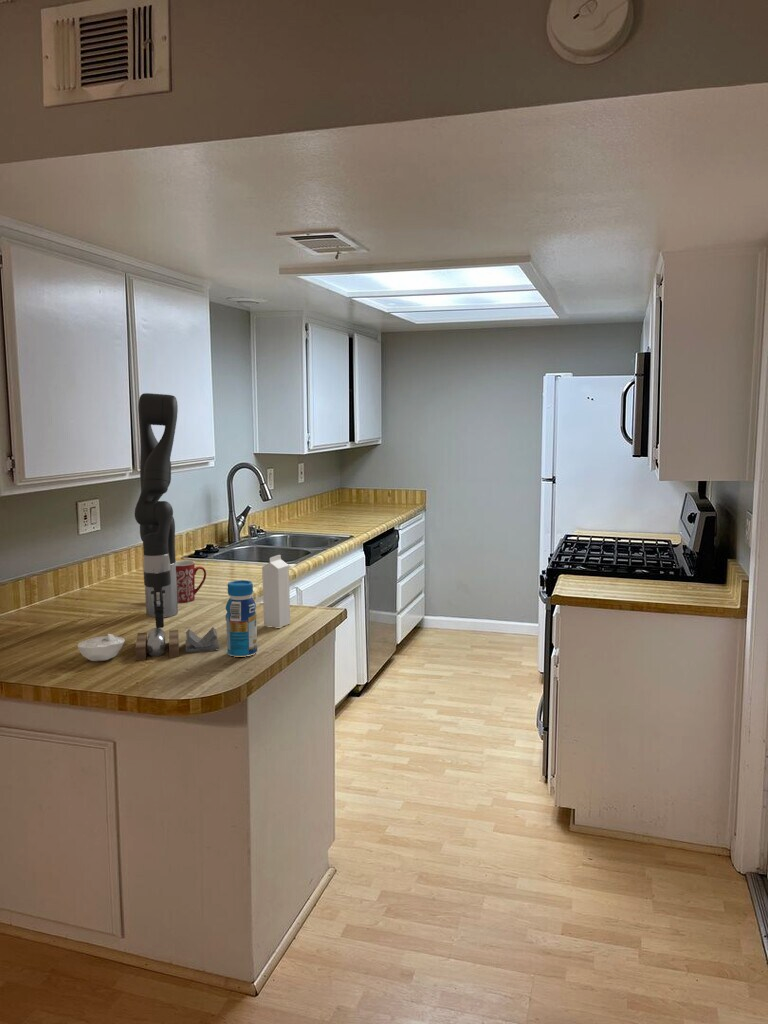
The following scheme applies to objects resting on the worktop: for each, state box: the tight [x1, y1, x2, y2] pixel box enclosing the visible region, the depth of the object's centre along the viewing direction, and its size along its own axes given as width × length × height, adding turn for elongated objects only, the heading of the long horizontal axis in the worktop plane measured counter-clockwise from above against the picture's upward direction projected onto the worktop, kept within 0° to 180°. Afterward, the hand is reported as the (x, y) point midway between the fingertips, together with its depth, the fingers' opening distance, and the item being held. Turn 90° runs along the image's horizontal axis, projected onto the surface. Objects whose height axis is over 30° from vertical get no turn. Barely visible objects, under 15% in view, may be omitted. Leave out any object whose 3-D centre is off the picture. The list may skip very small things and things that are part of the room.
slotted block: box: [134, 629, 180, 661], centre depth 213 cm, size 14×11×4 cm
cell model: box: [77, 633, 126, 662], centre depth 206 cm, size 10×12×7 cm
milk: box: [261, 554, 291, 627], centre depth 236 cm, size 6×6×22 cm
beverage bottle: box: [225, 579, 258, 657], centre depth 209 cm, size 8×8×20 cm
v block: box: [184, 627, 220, 654], centre depth 216 cm, size 9×9×4 cm
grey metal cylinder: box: [146, 627, 166, 657], centre depth 214 cm, size 12×5×5 cm, turn 15°
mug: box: [176, 560, 207, 604], centre depth 269 cm, size 13×9×14 cm
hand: (159, 627), depth 224 cm, fingers closed
